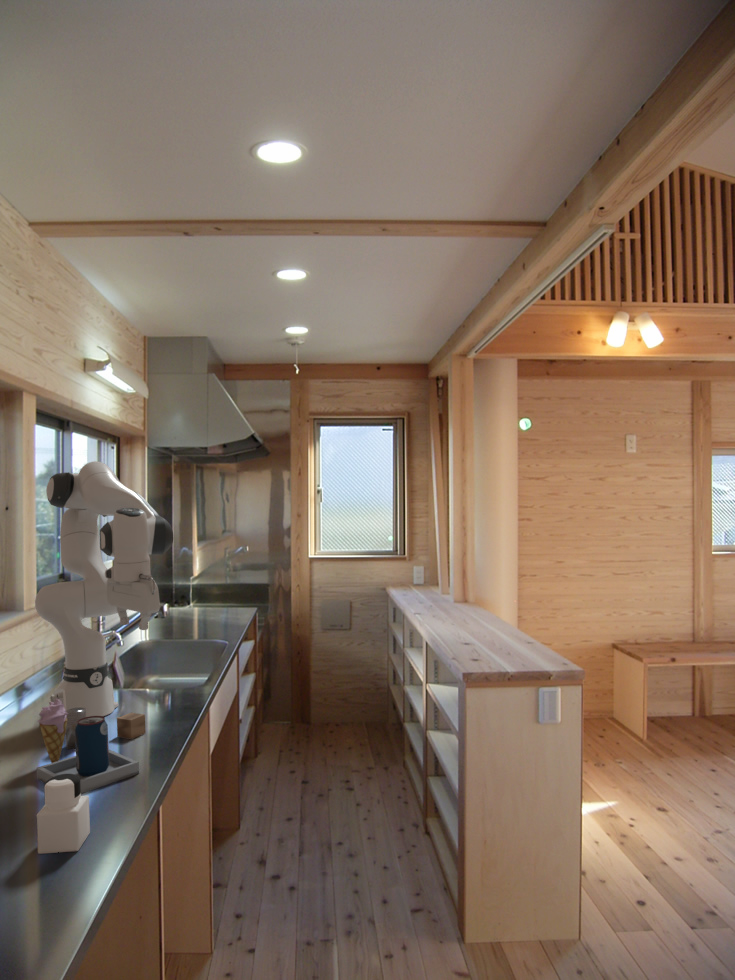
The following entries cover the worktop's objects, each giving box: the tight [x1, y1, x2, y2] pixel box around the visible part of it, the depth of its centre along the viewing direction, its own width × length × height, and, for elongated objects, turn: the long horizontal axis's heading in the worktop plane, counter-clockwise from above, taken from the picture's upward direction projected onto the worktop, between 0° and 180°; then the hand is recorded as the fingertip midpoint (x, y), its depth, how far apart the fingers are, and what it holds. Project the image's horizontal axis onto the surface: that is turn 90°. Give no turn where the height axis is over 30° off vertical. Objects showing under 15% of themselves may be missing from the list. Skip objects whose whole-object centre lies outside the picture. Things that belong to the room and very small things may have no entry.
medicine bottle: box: [35, 774, 91, 855], centre depth 131 cm, size 7×7×12 cm
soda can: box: [75, 716, 110, 777], centre depth 163 cm, size 7×7×12 cm
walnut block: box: [116, 712, 146, 740], centre depth 190 cm, size 5×5×5 cm
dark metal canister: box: [65, 708, 86, 750], centre depth 183 cm, size 5×5×9 cm
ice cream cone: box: [38, 699, 68, 763], centre depth 171 cm, size 7×6×15 cm
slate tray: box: [36, 749, 140, 795], centre depth 162 cm, size 16×16×3 cm
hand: (134, 627), depth 182 cm, fingers open, 8 cm apart
